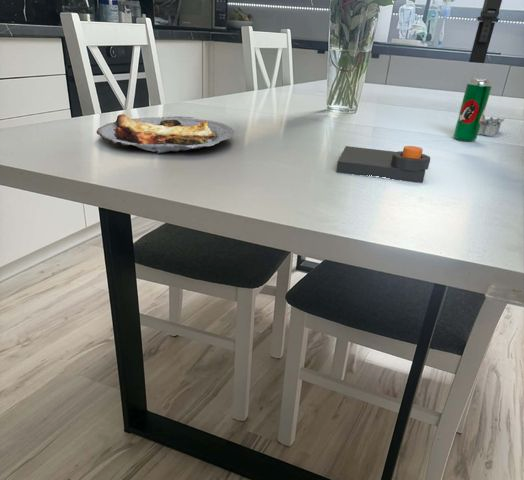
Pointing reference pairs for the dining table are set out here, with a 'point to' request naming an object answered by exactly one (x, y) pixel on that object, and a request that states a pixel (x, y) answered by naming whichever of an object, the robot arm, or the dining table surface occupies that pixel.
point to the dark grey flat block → (382, 164)
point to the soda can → (472, 109)
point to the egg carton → (490, 126)
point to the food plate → (165, 133)
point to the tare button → (412, 152)
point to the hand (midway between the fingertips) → (476, 62)
